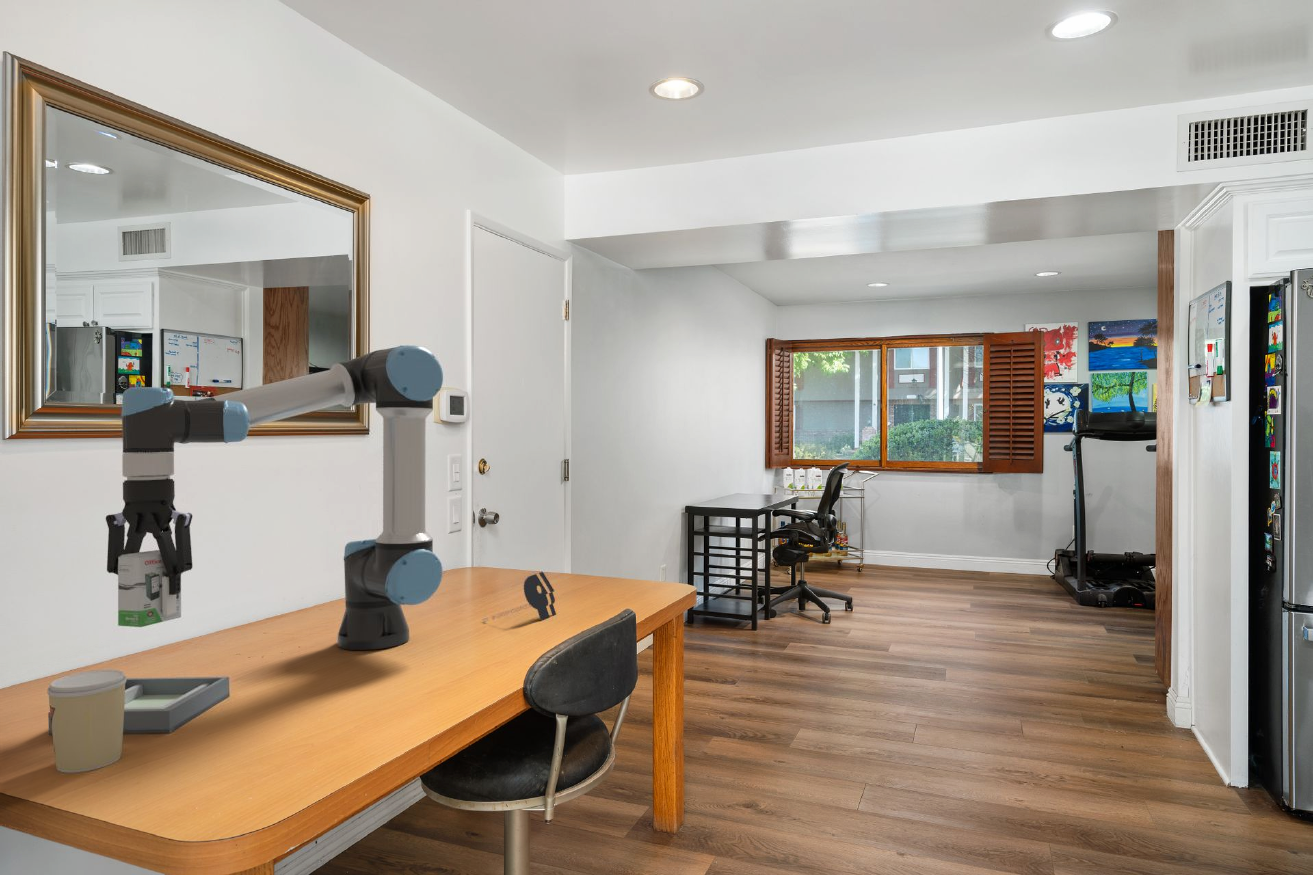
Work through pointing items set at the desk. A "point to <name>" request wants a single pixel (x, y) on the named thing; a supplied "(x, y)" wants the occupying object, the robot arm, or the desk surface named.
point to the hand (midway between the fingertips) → (150, 613)
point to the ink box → (142, 590)
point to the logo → (537, 596)
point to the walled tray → (167, 702)
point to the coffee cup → (87, 719)
